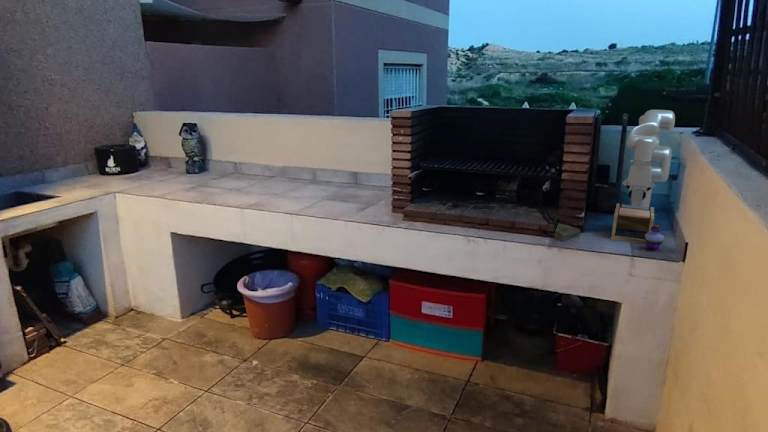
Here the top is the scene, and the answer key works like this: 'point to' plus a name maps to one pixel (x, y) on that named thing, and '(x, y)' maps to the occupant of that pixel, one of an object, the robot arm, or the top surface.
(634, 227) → the frame
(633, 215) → the trapdoor
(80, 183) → the top surface
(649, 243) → the potion bottle
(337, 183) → the top surface
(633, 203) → the robot arm
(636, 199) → the cube
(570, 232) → the marble piece
